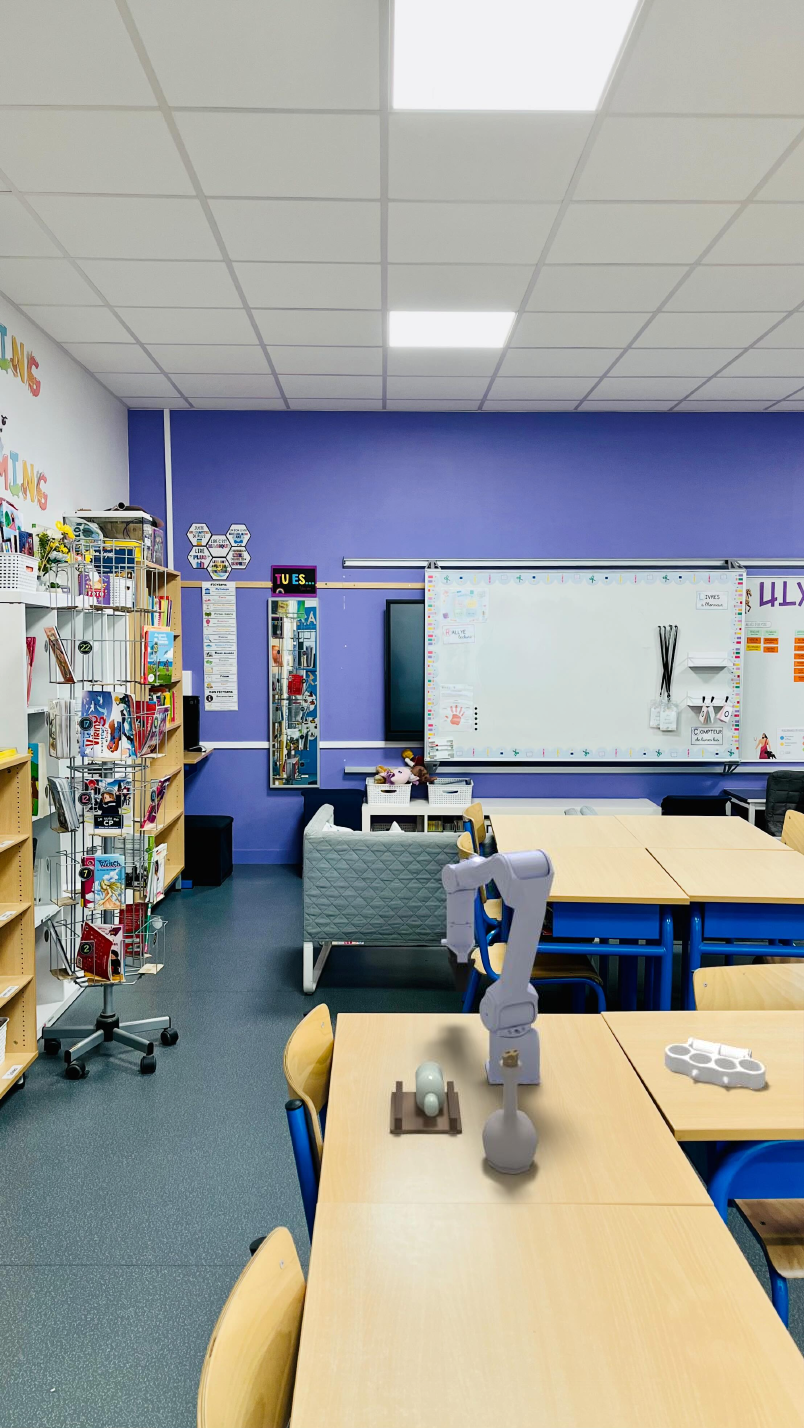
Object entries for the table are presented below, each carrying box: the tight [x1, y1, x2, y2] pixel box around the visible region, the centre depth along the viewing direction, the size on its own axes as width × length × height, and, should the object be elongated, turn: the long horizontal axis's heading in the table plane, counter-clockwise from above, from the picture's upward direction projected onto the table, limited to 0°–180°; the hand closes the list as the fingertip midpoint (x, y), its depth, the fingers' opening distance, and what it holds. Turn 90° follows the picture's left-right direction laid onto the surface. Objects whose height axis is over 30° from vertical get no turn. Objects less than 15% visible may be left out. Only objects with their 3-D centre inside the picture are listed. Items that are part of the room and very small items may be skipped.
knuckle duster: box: [664, 1037, 767, 1090], centre depth 160 cm, size 3×18×15 cm
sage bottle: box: [414, 1061, 446, 1116], centre depth 146 cm, size 5×5×12 cm
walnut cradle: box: [389, 1080, 463, 1134], centre depth 145 cm, size 12×12×3 cm
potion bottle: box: [481, 1049, 539, 1175], centre depth 131 cm, size 9×9×18 cm
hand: (460, 983), depth 175 cm, fingers open, 7 cm apart
